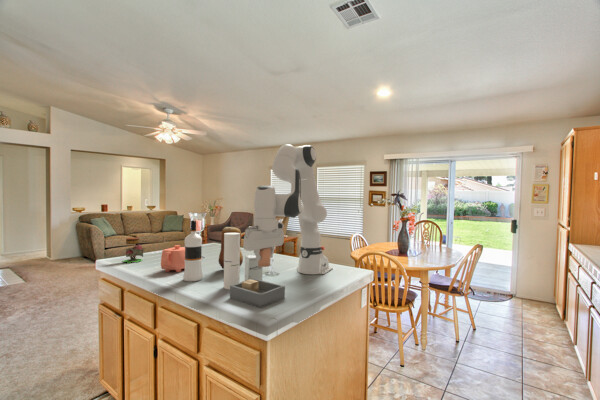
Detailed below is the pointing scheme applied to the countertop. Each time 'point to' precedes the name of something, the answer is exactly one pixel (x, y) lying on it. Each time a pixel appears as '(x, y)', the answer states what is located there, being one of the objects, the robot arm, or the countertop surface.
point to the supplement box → (252, 268)
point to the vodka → (193, 256)
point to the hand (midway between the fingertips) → (264, 259)
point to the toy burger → (133, 250)
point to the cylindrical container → (231, 259)
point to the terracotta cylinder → (265, 257)
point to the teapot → (173, 258)
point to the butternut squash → (221, 256)
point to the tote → (265, 294)
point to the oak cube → (250, 285)
